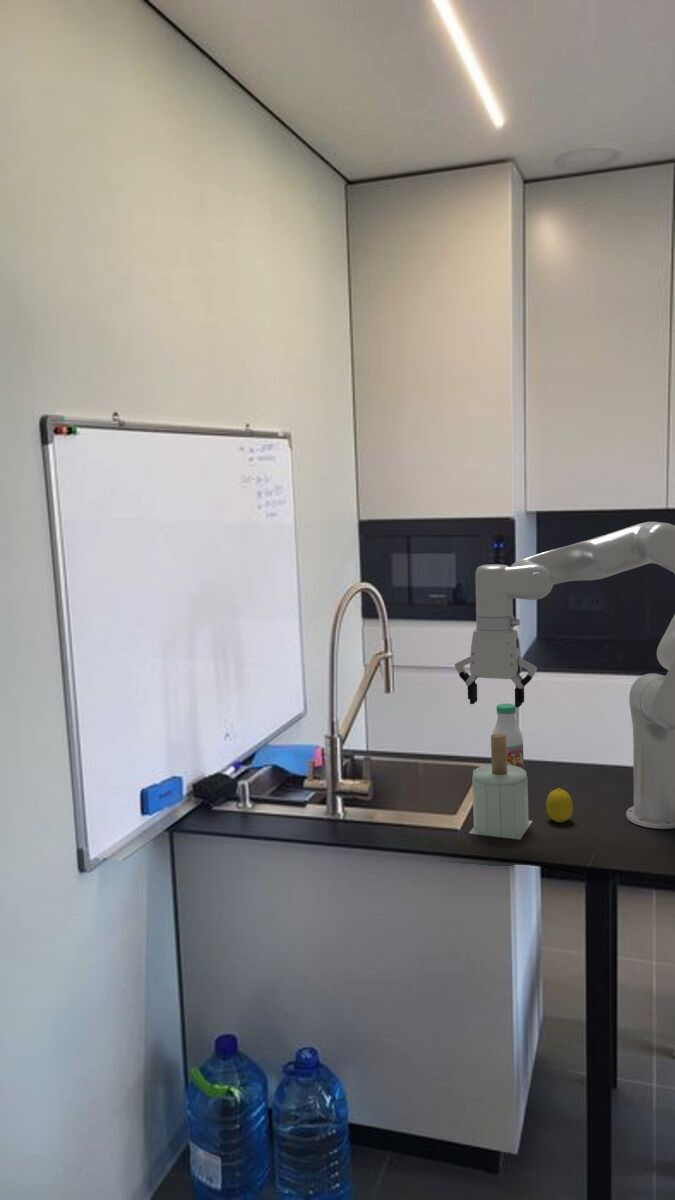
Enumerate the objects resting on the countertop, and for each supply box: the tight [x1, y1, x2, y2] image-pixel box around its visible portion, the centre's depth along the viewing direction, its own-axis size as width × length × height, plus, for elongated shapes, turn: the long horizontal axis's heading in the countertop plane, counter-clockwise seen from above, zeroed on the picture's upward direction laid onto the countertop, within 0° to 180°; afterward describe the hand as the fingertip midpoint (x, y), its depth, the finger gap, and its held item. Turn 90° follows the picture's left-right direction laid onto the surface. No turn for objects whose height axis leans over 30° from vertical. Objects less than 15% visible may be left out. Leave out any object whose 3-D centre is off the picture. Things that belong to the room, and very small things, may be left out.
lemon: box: [545, 787, 574, 823], centre depth 196 cm, size 6×6×8 cm
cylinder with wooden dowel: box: [471, 734, 530, 838], centre depth 193 cm, size 11×11×20 cm
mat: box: [468, 820, 533, 840], centre depth 194 cm, size 11×11×1 cm
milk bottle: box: [491, 703, 525, 770], centre depth 222 cm, size 8×8×20 cm
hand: (495, 704), depth 191 cm, fingers open, 9 cm apart
